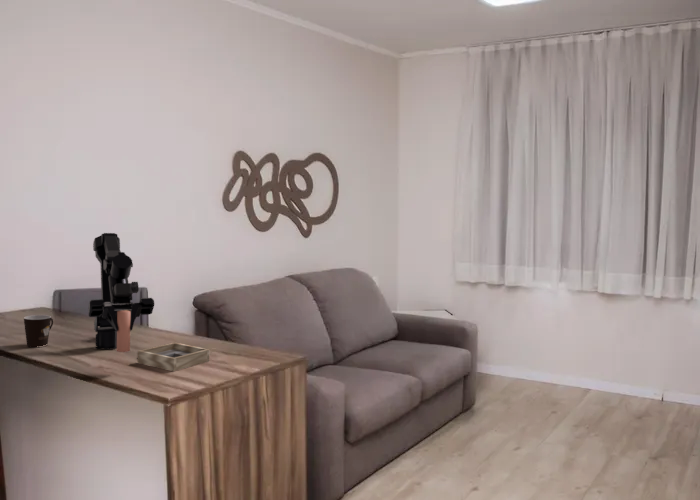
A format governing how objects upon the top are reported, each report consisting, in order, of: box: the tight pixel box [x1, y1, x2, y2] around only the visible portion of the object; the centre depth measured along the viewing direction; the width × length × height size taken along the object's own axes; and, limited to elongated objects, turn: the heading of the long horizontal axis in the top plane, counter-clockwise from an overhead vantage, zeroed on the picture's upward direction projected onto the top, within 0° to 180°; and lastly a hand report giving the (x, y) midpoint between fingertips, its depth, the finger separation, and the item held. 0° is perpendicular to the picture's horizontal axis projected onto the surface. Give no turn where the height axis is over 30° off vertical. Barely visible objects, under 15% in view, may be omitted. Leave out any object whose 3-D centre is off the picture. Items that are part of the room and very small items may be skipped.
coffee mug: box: [23, 314, 54, 348], centre depth 219 cm, size 12×9×10 cm
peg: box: [116, 310, 131, 353], centre depth 189 cm, size 4×4×12 cm
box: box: [137, 341, 211, 372], centre depth 204 cm, size 16×16×4 cm
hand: (124, 330), depth 188 cm, fingers closed on peg, 4 cm apart
